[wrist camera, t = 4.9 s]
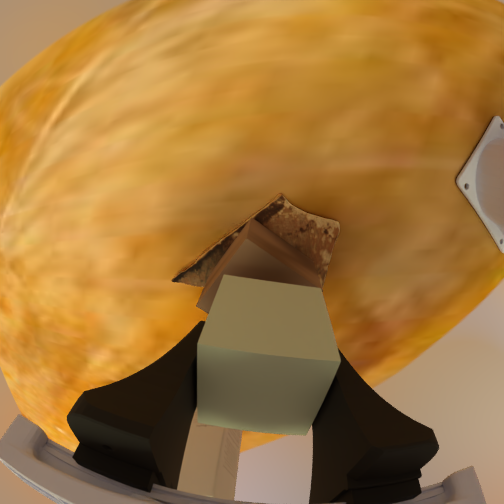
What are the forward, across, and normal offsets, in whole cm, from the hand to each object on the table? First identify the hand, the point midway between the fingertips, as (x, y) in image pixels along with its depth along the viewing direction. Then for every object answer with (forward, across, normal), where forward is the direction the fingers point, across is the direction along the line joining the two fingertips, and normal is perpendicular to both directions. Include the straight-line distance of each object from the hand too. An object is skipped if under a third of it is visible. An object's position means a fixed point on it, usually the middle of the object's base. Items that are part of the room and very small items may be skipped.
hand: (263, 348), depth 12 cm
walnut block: (+8, +1, 0) cm, 8 cm away
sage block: (+2, 0, 0) cm, 2 cm away
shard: (+10, 0, 0) cm, 10 cm away
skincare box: (+9, +3, +16) cm, 19 cm away
